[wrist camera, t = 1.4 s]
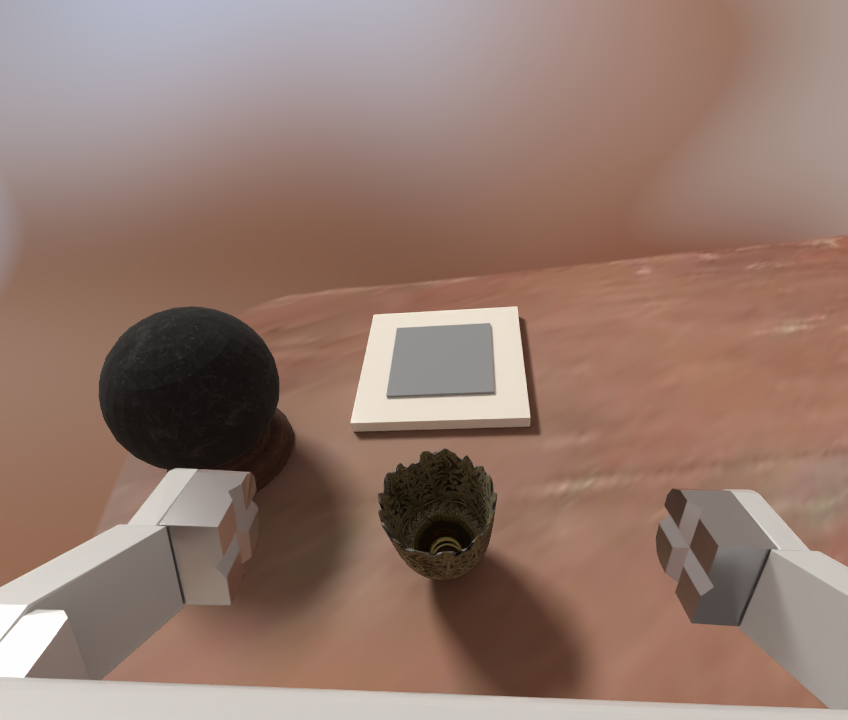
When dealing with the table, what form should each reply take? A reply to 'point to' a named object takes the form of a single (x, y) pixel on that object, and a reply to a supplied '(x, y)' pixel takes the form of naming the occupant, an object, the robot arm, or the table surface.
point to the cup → (439, 513)
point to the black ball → (196, 395)
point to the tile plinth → (443, 372)
